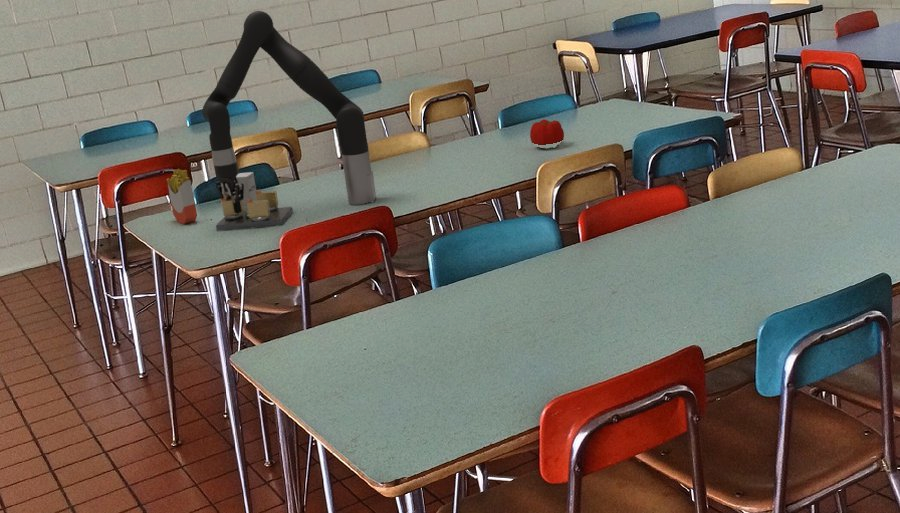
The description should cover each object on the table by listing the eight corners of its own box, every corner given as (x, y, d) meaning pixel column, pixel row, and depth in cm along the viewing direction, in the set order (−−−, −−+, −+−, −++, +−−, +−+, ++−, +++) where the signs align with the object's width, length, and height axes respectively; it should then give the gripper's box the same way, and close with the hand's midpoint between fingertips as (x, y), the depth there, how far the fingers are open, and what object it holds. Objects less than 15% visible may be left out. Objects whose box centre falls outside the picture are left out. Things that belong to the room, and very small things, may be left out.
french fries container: (186, 225, 355) (176, 173, 349) (173, 220, 363) (163, 170, 358) (198, 222, 357) (188, 170, 352) (185, 217, 366) (175, 167, 360)
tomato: (566, 149, 403) (564, 122, 400) (532, 152, 404) (530, 126, 401) (563, 142, 416) (561, 116, 413) (530, 146, 417) (527, 120, 414)
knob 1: (242, 213, 352) (238, 193, 351) (245, 217, 347) (241, 197, 345) (223, 217, 351) (219, 197, 349) (225, 220, 345) (222, 200, 343)
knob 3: (272, 215, 344) (268, 195, 343) (267, 220, 339) (264, 200, 337) (253, 217, 345) (249, 197, 343) (248, 222, 339) (244, 202, 337)
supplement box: (252, 212, 362) (246, 176, 359) (232, 213, 364) (226, 178, 360) (259, 206, 369) (253, 171, 366) (240, 207, 371) (234, 173, 367)
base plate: (292, 212, 355) (291, 200, 354) (282, 225, 340) (280, 213, 339) (230, 218, 357) (228, 206, 356) (216, 231, 342) (214, 219, 341)
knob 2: (280, 206, 356) (277, 187, 354) (276, 210, 350) (273, 191, 348) (262, 208, 357) (258, 188, 355) (257, 212, 351) (254, 193, 349)
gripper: (246, 160, 341) (256, 211, 346) (222, 158, 351) (232, 207, 356) (227, 166, 336) (237, 217, 341) (203, 163, 346) (213, 213, 351)
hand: (234, 212), depth 348 cm, fingers closed on knob 1, 3 cm apart
